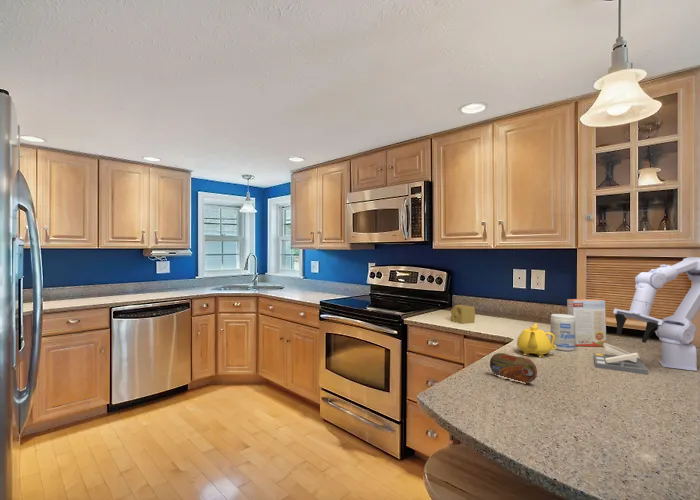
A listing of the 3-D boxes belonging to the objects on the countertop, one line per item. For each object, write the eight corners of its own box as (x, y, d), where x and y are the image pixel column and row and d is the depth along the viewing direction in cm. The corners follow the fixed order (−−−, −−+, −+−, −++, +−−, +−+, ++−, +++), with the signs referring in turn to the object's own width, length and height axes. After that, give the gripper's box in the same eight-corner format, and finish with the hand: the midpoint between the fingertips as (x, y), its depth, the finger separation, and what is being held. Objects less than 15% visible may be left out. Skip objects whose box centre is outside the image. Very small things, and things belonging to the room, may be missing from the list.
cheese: (450, 321, 225) (450, 305, 225) (463, 320, 229) (463, 304, 229) (462, 324, 215) (461, 307, 215) (475, 322, 220) (475, 306, 220)
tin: (489, 375, 125) (489, 351, 126) (494, 373, 128) (493, 349, 128) (534, 387, 114) (534, 360, 114) (538, 385, 116) (538, 358, 116)
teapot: (556, 363, 139) (556, 333, 139) (514, 357, 146) (514, 329, 147) (557, 351, 156) (557, 324, 156) (519, 346, 164) (519, 321, 164)
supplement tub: (563, 352, 154) (563, 317, 154) (545, 346, 163) (545, 314, 163) (581, 350, 157) (580, 316, 157) (562, 345, 166) (562, 313, 166)
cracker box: (598, 343, 168) (598, 298, 168) (606, 347, 162) (606, 300, 162) (567, 343, 170) (566, 298, 170) (573, 346, 164) (573, 300, 164)
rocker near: (638, 355, 130) (637, 352, 130) (639, 357, 127) (638, 354, 128) (606, 361, 134) (605, 358, 135) (607, 363, 132) (605, 359, 132)
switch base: (640, 362, 139) (640, 354, 139) (647, 374, 126) (647, 365, 126) (593, 356, 147) (593, 348, 147) (595, 367, 134) (595, 358, 134)
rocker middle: (634, 361, 135) (636, 358, 135) (635, 362, 133) (637, 359, 132) (604, 348, 140) (605, 345, 140) (604, 349, 138) (605, 347, 137)
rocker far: (632, 357, 140) (633, 354, 140) (633, 358, 138) (634, 355, 137) (602, 345, 145) (604, 342, 145) (603, 346, 143) (604, 343, 142)
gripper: (615, 295, 136) (604, 329, 135) (664, 306, 124) (652, 343, 123) (621, 300, 140) (610, 333, 139) (669, 311, 128) (657, 347, 127)
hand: (630, 338), depth 131 cm, fingers open, 7 cm apart
